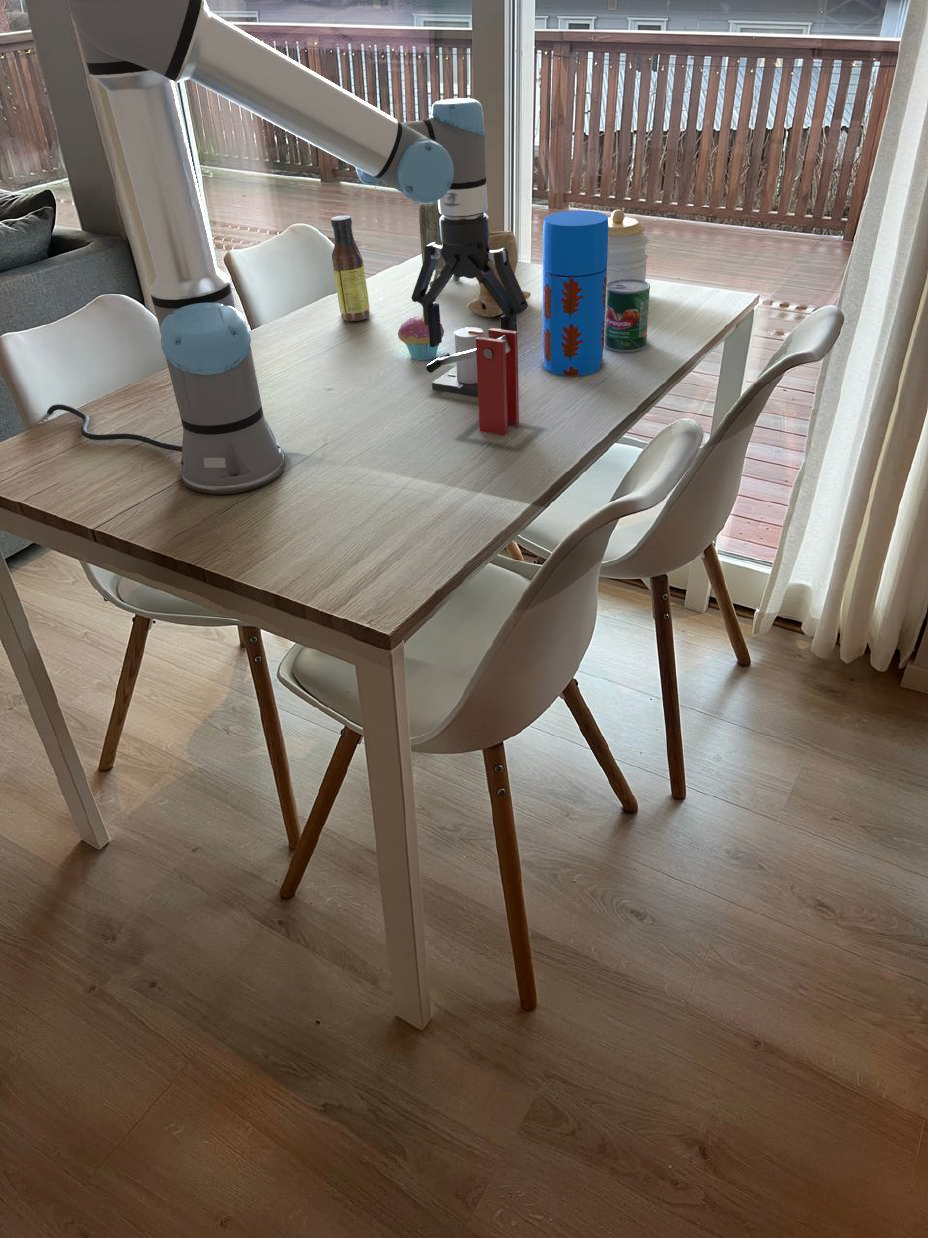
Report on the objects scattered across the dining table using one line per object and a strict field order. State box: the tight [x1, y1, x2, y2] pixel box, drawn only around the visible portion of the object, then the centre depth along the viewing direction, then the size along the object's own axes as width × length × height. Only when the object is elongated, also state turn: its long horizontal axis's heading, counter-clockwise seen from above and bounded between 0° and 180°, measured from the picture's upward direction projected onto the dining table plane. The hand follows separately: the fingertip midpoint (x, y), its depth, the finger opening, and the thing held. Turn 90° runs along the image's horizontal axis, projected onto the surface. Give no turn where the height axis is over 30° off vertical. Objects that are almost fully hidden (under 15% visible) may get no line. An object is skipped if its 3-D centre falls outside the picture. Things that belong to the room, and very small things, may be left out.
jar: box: [606, 209, 650, 285], centre depth 191 cm, size 13×13×18 cm
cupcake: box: [397, 312, 445, 361], centre depth 171 cm, size 9×8×12 cm
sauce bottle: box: [330, 215, 371, 322], centre depth 189 cm, size 7×6×20 cm
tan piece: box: [467, 230, 532, 318], centre depth 191 cm, size 15×12×15 cm
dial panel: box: [431, 366, 478, 398], centre depth 159 cm, size 11×9×3 cm
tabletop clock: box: [418, 200, 461, 289], centre depth 205 cm, size 14×9×25 cm, turn 174°
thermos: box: [542, 210, 609, 377], centre depth 160 cm, size 11×11×25 cm
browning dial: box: [454, 326, 485, 384], centre depth 155 cm, size 5×5×8 cm
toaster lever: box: [425, 335, 511, 374], centre depth 140 cm, size 13×6×2 cm, turn 61°
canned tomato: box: [604, 279, 651, 353], centre depth 171 cm, size 8×8×11 cm
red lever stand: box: [476, 327, 520, 437], centre depth 141 cm, size 10×8×16 cm
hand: (471, 349), depth 155 cm, fingers open, 13 cm apart
